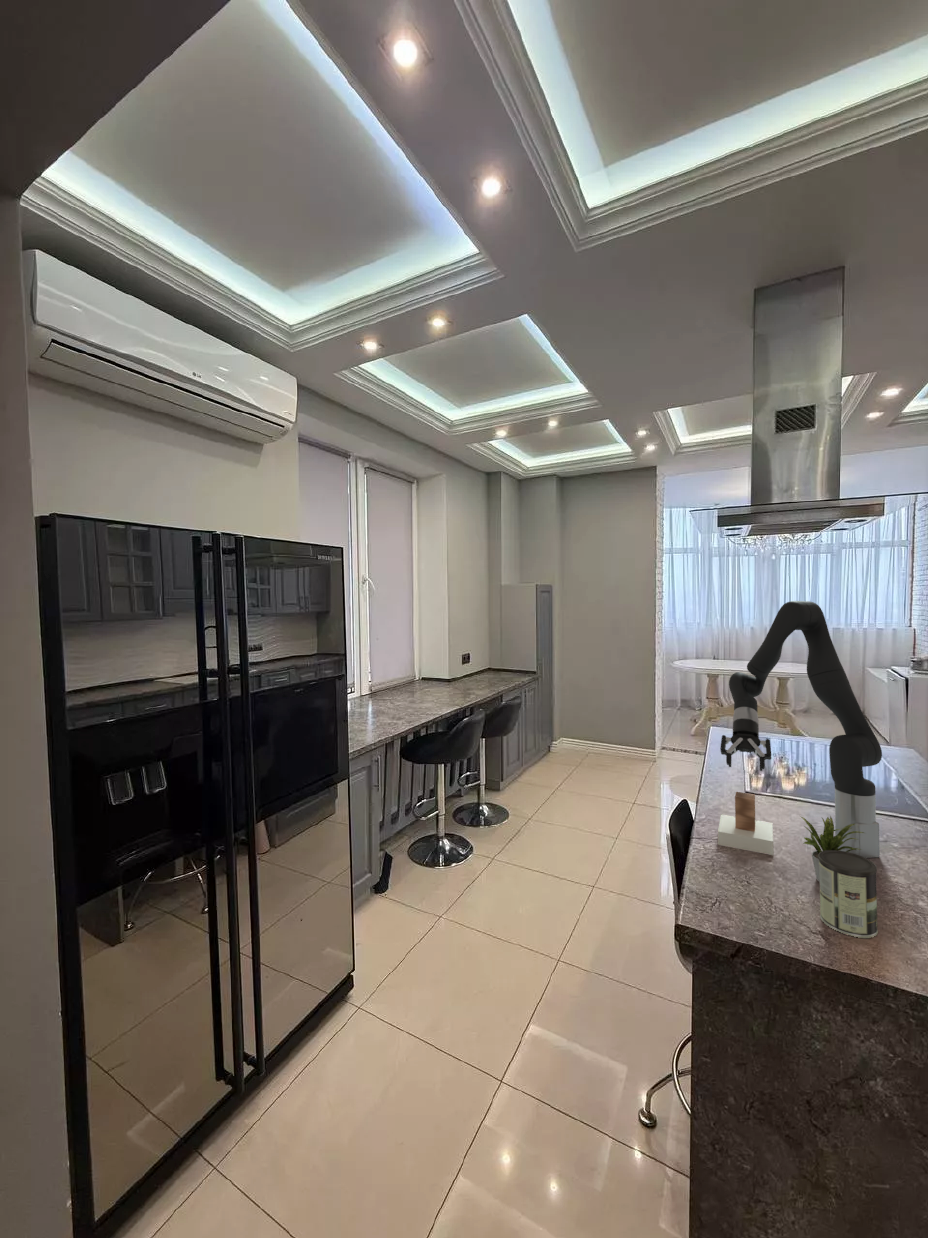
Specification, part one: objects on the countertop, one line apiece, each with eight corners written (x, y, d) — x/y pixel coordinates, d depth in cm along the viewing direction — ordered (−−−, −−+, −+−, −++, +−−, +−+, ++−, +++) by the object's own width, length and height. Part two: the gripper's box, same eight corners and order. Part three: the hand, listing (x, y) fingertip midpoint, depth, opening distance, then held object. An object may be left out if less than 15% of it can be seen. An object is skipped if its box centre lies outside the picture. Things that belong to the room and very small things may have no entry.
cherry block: (755, 825, 153) (754, 794, 153) (754, 832, 148) (754, 799, 148) (736, 822, 155) (736, 791, 155) (735, 828, 151) (734, 796, 151)
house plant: (882, 902, 119) (881, 833, 118) (816, 897, 121) (815, 830, 121) (849, 871, 133) (848, 810, 132) (791, 867, 135) (790, 807, 135)
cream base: (772, 835, 154) (772, 822, 154) (773, 855, 142) (773, 841, 142) (721, 827, 161) (721, 814, 161) (718, 844, 149) (717, 831, 149)
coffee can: (853, 909, 116) (852, 849, 116) (890, 938, 106) (889, 872, 106) (808, 910, 116) (807, 849, 116) (840, 939, 106) (839, 873, 106)
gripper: (721, 715, 170) (719, 758, 160) (770, 719, 162) (771, 764, 153) (722, 728, 174) (720, 770, 165) (770, 732, 167) (771, 776, 157)
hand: (745, 767), depth 159 cm, fingers open, 8 cm apart
